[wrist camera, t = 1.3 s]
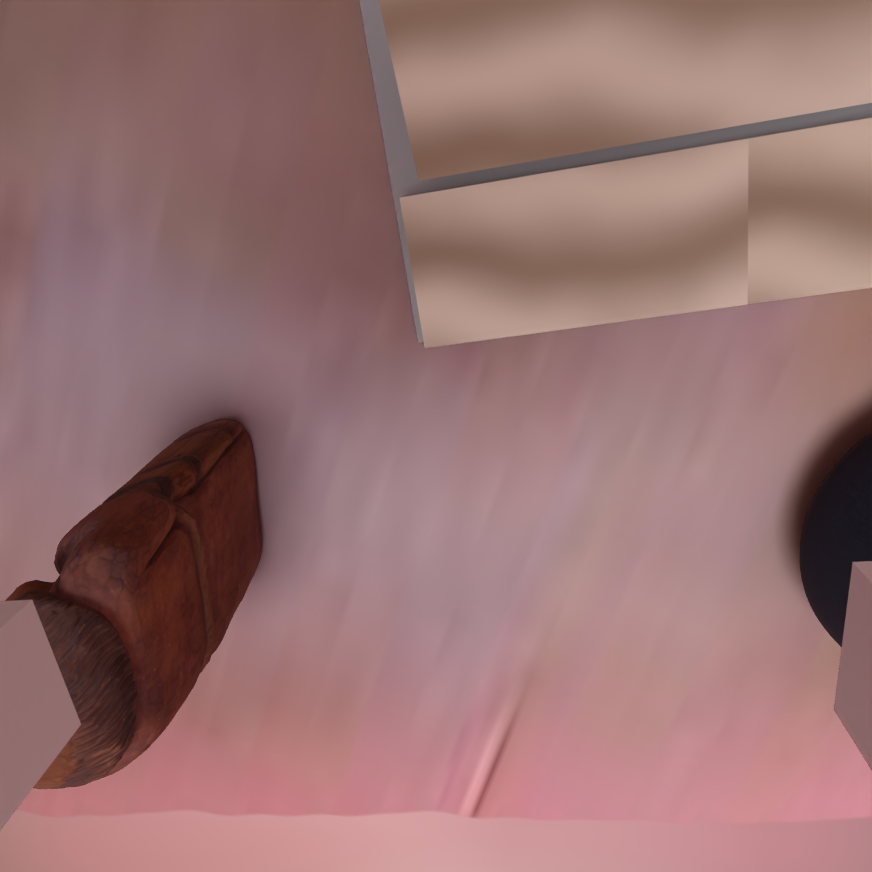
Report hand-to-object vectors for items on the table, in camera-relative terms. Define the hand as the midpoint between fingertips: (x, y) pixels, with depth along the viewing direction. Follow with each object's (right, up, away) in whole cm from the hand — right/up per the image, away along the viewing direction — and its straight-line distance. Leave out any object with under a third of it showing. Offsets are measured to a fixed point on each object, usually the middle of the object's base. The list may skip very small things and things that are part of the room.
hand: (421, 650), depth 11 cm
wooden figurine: (-13, -1, +28) cm, 31 cm away
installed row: (+14, +13, +20) cm, 28 cm away
